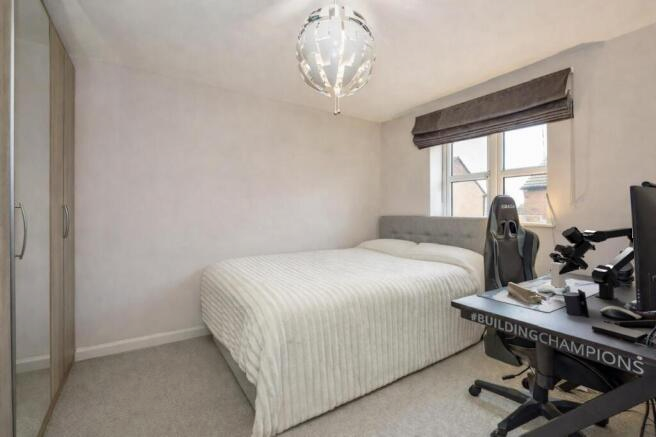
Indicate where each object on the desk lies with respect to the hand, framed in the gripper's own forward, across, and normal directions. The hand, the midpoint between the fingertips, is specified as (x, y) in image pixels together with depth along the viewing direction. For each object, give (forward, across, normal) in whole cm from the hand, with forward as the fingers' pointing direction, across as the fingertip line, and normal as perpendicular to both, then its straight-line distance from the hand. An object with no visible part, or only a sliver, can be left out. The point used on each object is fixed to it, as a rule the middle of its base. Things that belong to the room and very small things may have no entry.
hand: (555, 272), depth 147 cm
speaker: (+15, +23, +3) cm, 28 cm away
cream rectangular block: (+4, 0, +6) cm, 7 cm away
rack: (+18, 0, 0) cm, 18 cm away
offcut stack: (+18, -1, 0) cm, 18 cm away
